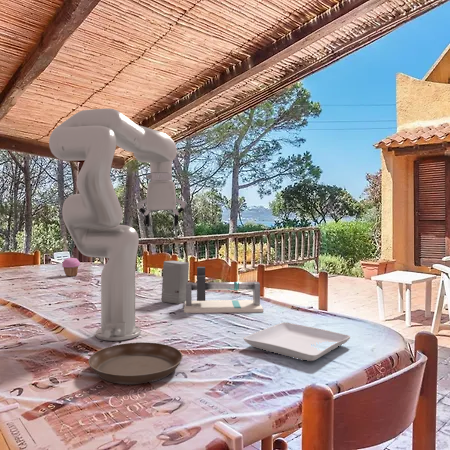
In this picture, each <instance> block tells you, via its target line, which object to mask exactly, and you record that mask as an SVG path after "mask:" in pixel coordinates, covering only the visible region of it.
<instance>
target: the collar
mask: <svg viewBox="0 0 450 450" xmlns="http://www.w3.org/2000/svg"><path fill="white" fill-rule="evenodd" d="M205 282H206V266H197V267H196V283H197V290H196V301H205V300H206V290H205Z"/></svg>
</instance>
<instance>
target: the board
mask: <svg viewBox="0 0 450 450" xmlns="http://www.w3.org/2000/svg"><path fill="white" fill-rule="evenodd" d="M186 313H187V314H196V313H197V314H199V313H200V314H203V313H204V314H205V313H206V314H207V313H209V314H211V313H212V314H214V313H221V314H223V313H264V308H263V305H261V303H260V305H255V306H254V304H253V299H230V300H229V299H225V300H224V299H223V300H222V299H219V300H216V299H215V300H210V299H209V300H208V299H207V300H206V299H205V301H197V300H192V304H191V306H186V301H185V302H184V307H183V314H186Z"/></svg>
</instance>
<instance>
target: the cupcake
mask: <svg viewBox="0 0 450 450" xmlns="http://www.w3.org/2000/svg"><path fill="white" fill-rule="evenodd" d="M61 266H62V268H63V271H64V274H65V276H67V277H76V276H77V275H78V271H79V267H80V266H81V262H80V261H79V259H78V258H77V257H68V258H65V259H64V260H63V262H62V264H61Z"/></svg>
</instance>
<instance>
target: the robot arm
mask: <svg viewBox="0 0 450 450" xmlns="http://www.w3.org/2000/svg"><path fill="white" fill-rule="evenodd" d="M48 141H49V142H48V145H49V146H48V147H49V150H50V153H51V154H52V155H53V156H54V157H55V158H57V159H58V160H61V161H67V162H68V161H69V162H73V161H84V162H83V164H82V166H81V169H80V170H79V172H78V175H77V177H76V188H77V190H78V193H74V194H71V195H69V196H68V197H66V199H65V200H64V202H63V204H62V210H61V211H62V220H63V222H64V224H65V227H66V229H67V231H68V233H69V234H70V236H71V238H72V240H73V242H74V245H75V246H76V248H77V250H78V251H79V252H80V254H82V255H83V256H86V257H89V258H104V259H105V258H106V259H108V260H107V262H106V264H105V265H104V266H103V268H102V270H101V272H100V273H101V274H100V317H101V318H100V322H101V323H100V328H99V329H97V330H96V331H95V337H96V338H97V340H98V339H99V340H103V341H109V342H115V341H116V342H118V341H120V342H121V341H127V340H131V339H134V338H136V337H138V336H140V335H141V333H142V329H141V327H139V326H138V325H136V266H137V265H136V262H137V255H138V249H139V245H140V244H139V241H140V238H139V233H138V232H137V230H136V229H135V228H133V227H132V226H130V225H127V224H126V225H125V224H121V223H122V221H123V218H124V216H123V214H124V213H123V210H122V205H121V203H120V201H119V199H118V195H117V193H116V190H115V188H114V185H113V182H112V178H111V169H112V164H113V160H114V157H115V153H116V148H117V147H118V148H120V149H122V150H124V151H126V152H129V153H133V156H134V158H135V160H137V161H138V162H140V163H149V166H150V173H149V174H146V175H145V176H146V178H145V179H147V180H149V181H148V184H147V190H146V198H145V199H142V200H141V201H138V202H137V203H136V207H138V210H139V211H140V212H141V213H142V214H143V215H144V225H146V227H147V228H149V227H150V225H151V224H150V222H151V220H150V213H151V211H172V212H173V213H174V220H173V221H174V222H173V224H174V227H175V228H177V225H179V215H180V214H181V213H182V212H183V211H184V209H185V207H186V205H187V203H186V202H185V201H183V200H182V199H179V198H177V196H176V186H175V185H176V184H175V182H174V181H173V167H172V166H173V161H175V159H176V156H178V155H177V153H178V148H177V145H176V143H175V141H174V139H172V138H171V137H170V136H169V135H168V134H167V133H164V132H163V131H160V130H156V129H153V128H149V127H147V126H143V125H138V124H137V123H136V122H135V121H133V120H131V119H130V118H129V117H127V116H126V115H124V114H123V113H122V112H121V111H119V110H117V109H114V108H93V109H85V110H81V111H78V112H76V113H75V114H73V115H72V116H70V117H68V118H67V119H66V120H64V121H63V122H62V123H61V124H59V125H58V126H56V128H54V129H53V130H52V131H51V133H50V135H49V140H48ZM177 203H178V204H180V205H181V206H180V208H179V209H178V210H177V209H176V208H177ZM144 204H146V210H145V209H144V208H143V205H144Z"/></svg>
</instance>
